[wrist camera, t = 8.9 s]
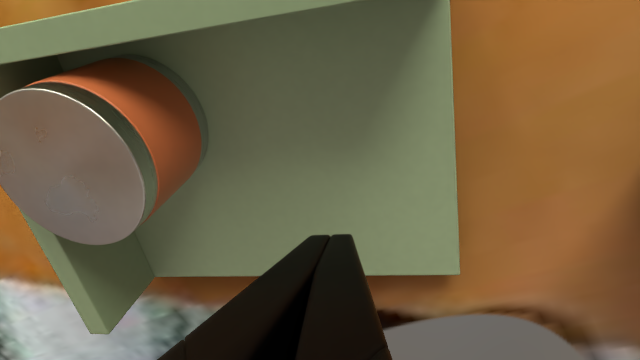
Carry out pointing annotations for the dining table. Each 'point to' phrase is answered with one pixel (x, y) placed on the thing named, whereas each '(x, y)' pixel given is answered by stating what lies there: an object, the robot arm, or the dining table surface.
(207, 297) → the dining table surface
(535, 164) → the dining table surface
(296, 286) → the robot arm
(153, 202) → the tin can
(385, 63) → the green corner tray
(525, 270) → the dining table surface
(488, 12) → the dining table surface
